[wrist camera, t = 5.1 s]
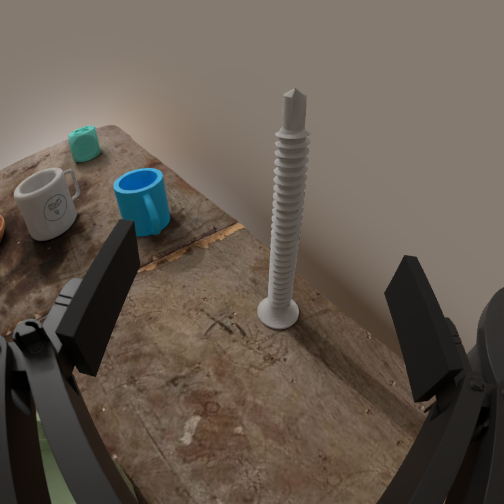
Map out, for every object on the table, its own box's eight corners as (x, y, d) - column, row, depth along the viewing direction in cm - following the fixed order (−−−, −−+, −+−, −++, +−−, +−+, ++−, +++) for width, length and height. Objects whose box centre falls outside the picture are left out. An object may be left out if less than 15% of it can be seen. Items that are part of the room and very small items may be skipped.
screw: (249, 90, 19) (273, 80, 22) (250, 321, 36) (266, 292, 39) (323, 99, 17) (334, 88, 21) (291, 334, 34) (303, 303, 38)
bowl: (180, 541, 17) (159, 549, 12) (58, 587, 9) (17, 592, 4) (91, 410, 26) (59, 383, 22) (-7, 462, 18) (-46, 442, 13)
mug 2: (120, 218, 52) (109, 178, 46) (161, 203, 55) (154, 163, 50) (137, 256, 44) (124, 211, 39) (186, 237, 47) (179, 192, 42)
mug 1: (45, 249, 45) (24, 202, 39) (24, 232, 49) (6, 190, 43) (97, 208, 54) (84, 163, 48) (71, 197, 58) (58, 157, 52)
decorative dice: (99, 147, 79) (94, 123, 74) (101, 156, 74) (95, 129, 69) (74, 156, 76) (68, 131, 71) (74, 165, 71) (68, 139, 66)
